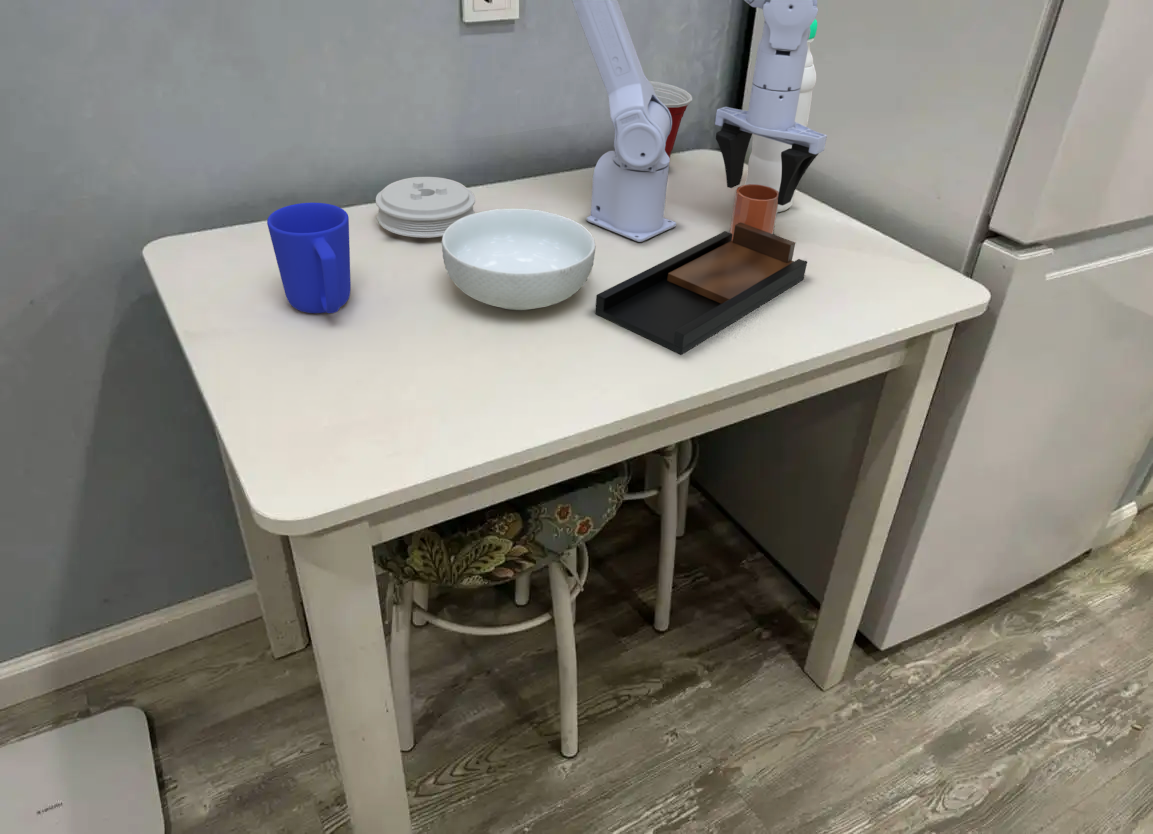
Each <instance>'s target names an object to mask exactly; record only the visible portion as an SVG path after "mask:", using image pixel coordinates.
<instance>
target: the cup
mask: <svg viewBox="0 0 1153 834" xmlns="http://www.w3.org/2000/svg"><path fill="white" fill-rule="evenodd" d="M778 194H779V192H778V191H777V190H775V189H774V188H771V187H768V186H764V185H758V184H748V185H745V184H742V185H739V186H737V187H736V189H735V196H734V201H733V208H732V214H731V221H730V226H729V233H731V234H732V240H733V235H734V229H735V225H736V224H738V223H740V222H741V223H744V224H746V225H749V226H752V227H755V228H757V229H760V230H763V231H766V232H768V233H771V234H774V232H775V227H776V226H775V225H776V220H777V215H778V212H777V210H778Z"/></svg>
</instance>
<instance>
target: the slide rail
mask: <svg viewBox="0 0 1153 834" xmlns="http://www.w3.org/2000/svg"><path fill="white" fill-rule="evenodd" d="M730 241H732V234H731V233H730V231H729V232H728V231H726V230H725V231H724V230H723V231H722V232H720V233H717V234H716V235H713V236H712V237H710V238H708V239H706V240H704V241H702V242H699V243H698V244H696V245H693V246H692V247H690V248H688V249H686V250H684V251H682V252H680V253H678V254H676V255H674V256H672V257H670V258H668V259H666V260H664V261H662V262H660V263H657V264H655V265H653V266H652V267H650V268H648V269H646V270H643V271H642V272H639V273H638V274H636V275H633V276H632V277H629V278H628V279H626V280H624V281H621V282H619V283H618V284H616V285H614V286H611V287H609V288H607V289H606V290H603V291H602V292H600V293H597V294H596V296H595V311H594V312H595V315H597V316H599V317H601V318H603V319H605V320H608V321H610V322H612V323H614V324H616V325H617V326H620V327H622V328H624V329H626V330H628V331H630V332H633V333H635V334H637V335H639V336H641V337H643V338H645V339H648V340H650V341H651V342H653V343H656V344H657V345H660V346H662V347H664V348H667V349H668V350H671V351H673V352H675V353H677V354H678V355H683V354H685V353H687V352H688V351H690V350H692V349H693V348H695V347H696V346H698V345H699V344H701V343H703V342H704V341H706V340H707V339H710V338H711V337H712V336H714V335H716V334H717V333H719V332H721V331H723V330H724V329H726V328H728V327H729V326H730V325H732V324H734V323H735V322H737V321H739V320H740V319H743V317H745V316H746V315H748V314H750V313H752V312H753V311H755V310H757V309H758V308H759V307H762V306H763V305H764V304H766V303H768V302H770V301H771V300H773V299H774V298H776V297H777V296H779V295H781V294H782V293H784V292H786V291H788V290H789V289H790V288H792V287H794V286H795V285H797V284H799V283H800V282H801V281H804V279H805V274H806V271H807V265H808V261H806V260H803V259H802V258H798V259H796V260H793V261H794V262H792V263H791V264H789V265H787V266H786V267H784V268H782V269H780V270H779V271H777V272H775V273H774V274H772V275H770V276H768V277H767V278H765V279H763V280H762V281H760V282H758V283H756V284H755V285H753V286H751V287H750V288H748V289H746V290H744V291H743V292H741V293H739V294H738V295H736V296H734V297H732V298H731V299H729V300H727V301H726V302H724V303H722V304H721V303H718V302H716V301H714V300H711V299H709V298H707V297H704V296H702V295H700V294H697V293H695V292H693V291H690V290H688V289H686V288H683V287H681V286H678V285H676V284H674V283H671V282H669V281H667V278H668V273H669V272H671V271H673V270H675V269H677V268H679V267H681V266H683V265H685V264H687V263H689V262H691V261H693V260H695V259H697V258H699V257H701V256H703V255H705V254H707V253H708V252H710V251H712V250H714V249H716V248H718V247H720V246H722V245H724V244H726V243H728V242H730Z"/></svg>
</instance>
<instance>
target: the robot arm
mask: <svg viewBox="0 0 1153 834" xmlns="http://www.w3.org/2000/svg"><path fill="white" fill-rule="evenodd" d="M743 1H744V2H745V3H747V4H748V5H749V6H750V7H752V8H756V9H757V8H758V9H761V10H762V15H763V19H764V21H763V22H764V23H763V26H762V27H763V28H762V33H761V34H762V35H761V38H760V39H759V41H758V44H757V51H756V57H755V64H754V68H753V69H754V71H753V77H752V84H751V88H750V89H751V90H750V95H749V102H748V109H747V110H746V109H745V110H744V109H740V108H739V109H738V108H733V107H729V106H723V107H720V108H717V109H716V114H715V120H714V125H715V126H718V127H721V129H720V130H719V131H717V132H716V133H715V140H716V142H717V145H718V147H719V149H720V152H721V156H722V159H723V163H724V170H725V178H726V187H727V188H729V189H733V188H735V187H738V186H741V185H740V184H741V182H742V178H743V173H744V165H745V161H746V155H747V151H748V148H749V146H750V142H751V139H752V137H753V134H755V135H758V136H762V137H765V138H768V139H772V140H775V141H779V142H782V143H785V144H789V145H792V148H791V149H790V148H789V149H787V150H785V151H782V152H781V161H782V175H781V184H780V189H779V194H778V204H779V205H782V206H783V205H785V204H787V203H789V202H791V199H792V196H793V194H794V195H795V191H796V189H797V186H798V185H799V184H800V182H801V179H802V178H803V176H804V175H805V173H806V171H807V170H808V168H809V167H810V165H811V164H812V163H813V162H814V161H815V159H816V158H817V156H819V154H820V153H822V152H824V151H825V147H826V142H827V137H828V135H827V134H825V133H821V132H819V131H816V130H814V129H812V128H810V127H808V126H807V127H805V126H803V125H801V124H799V123H797V122H795V117H796V111H797V106H798V100H799V95H800V89H801V84H802V79H803V73H804V68H805V62H806V57H807V52H808V45H807V40H808V39H809V36H810V25H811V24H812V23H813V21H814V20H815V19H816V18H817V15H818V13H819V8H818V0H743ZM571 3H572V5H573V8H574V10H575V13H576V16H577V18H578V20H579V23H580V25H581V28H582V31H583V33H584V36H585V39H586V41H587V44H588V47H589V49H590V52H591V55H592V58H593V60H594V62H595V65H596V67H597V70H598V72H599V75H600V77H601V80H602V83H603V86H604V88H605V91H606V93H607V96H608V106H609V107H608V108H609V116H610V120H611V123H612V125H613V128H614V138H613V147H614V150H608V151H606V152H605V153H604V154H602V155H600V157H599V159H598V160H597V162H596V164H595V165H594V170H593V174H592V186H591V204H590V215H589V216H586V221H587V222H588V223H591V224H593V225H596V226H599V227H601V228H603V229H604V230H605V229H606V230H608V231H610V232H613V233H615V234H618V235H621V236H623V237H625V238H628V239H630V240H633V241H635V242H638V243H642V242H645V241H646V240H649V239H651V238H654V237H655V236H657V235H660V234H662V233H664V232H666V231H668V230H671V229H673V228H675V227H676V226H677V222H676V221H673V220H671V219H668V218H667V217H665V206H666V197H667V188H668V178H669V171H670V170H669V169H670V158H671V157H670V158H669V156H668V155H667V153H666V152H665V146H666V140H667V137H668V135H669V134H670V131H671V128H672V117H671V114H670V112H669V110H668V108H667V107H666V106H665V105H664V104H663V103H662V102H661V101H660V100H659V99H658V98H657V96H656V94H655V92H654V89H653V86H652V85H651V83H650V82H649V81H650V80H649V79H648V78H647V77H646V75H645V73H644V72H645V71H644V70H643V67H642V64H641V61H640V59H639V56H638V53H637V50H636V47H635V45H634V42H633V40H632V37H631V33H630V31H629V28H628V26H627V23H626V20H625V17H624V14H623V12H622V8H621V5H620V3H619V1H618V0H571Z"/></svg>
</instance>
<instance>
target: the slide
mask: <svg viewBox="0 0 1153 834" xmlns="http://www.w3.org/2000/svg"><path fill="white" fill-rule="evenodd" d="M795 248H796V241H793V240H790V239H787V238H784V237H782V236H780V235H777V234H774V233H773V234H771V233H768V232H766V231H763V230H760V229H757V228H755V227H752V226H749V225H746V224H744V223H741V222H740V223H738V224H736V225H735V229H734V235H733V240H732V241H730V242H728V243H726V244H724V245H722V246H720V247H718V248H716V249H714V250H712V251H710V252H708V253H707V254H705V255H703V256H701V257H699V258H697V259H695V260H693V261H691V262H689V263H687V264H685V265H683V266H681V267H679V268H677V269H675V270H673V271H671V272H669V273H668V278H667V281H669V282H671V283H674V284H676V285H678V286H681V287H683V288H686V289H688V290H690V291H693V292H695V293H697V294H700V295H702V296H704V297H707V298H709V299H711V300H714V301H716V302H718V303H721V304H722V303H724V302H726V301H727V300H729V299H731V298H732V297H734V296H736V295H738V294H739V293H741V292H743V291H744V290H746V289H748V288H750V287H751V286H753V285H755V284H756V283H758V282H760V281H762V280H763V279H765V278H767V277H768V276H770V275H772V274H774V273H775V272H777V271H779V270H780V269H782V268H784V267H786V266H787V265H789V264H791V263H792V262H794V261H795V260H793V257H794V252H795Z"/></svg>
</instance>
